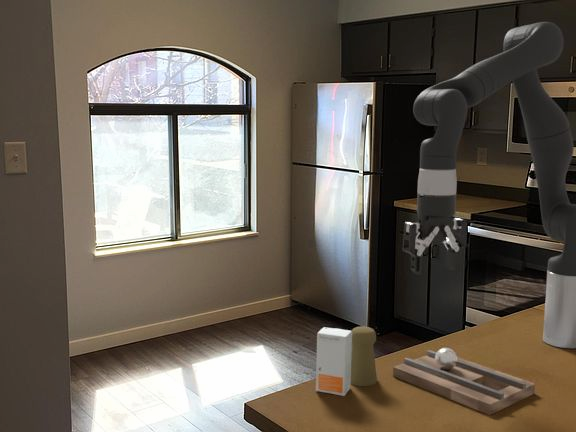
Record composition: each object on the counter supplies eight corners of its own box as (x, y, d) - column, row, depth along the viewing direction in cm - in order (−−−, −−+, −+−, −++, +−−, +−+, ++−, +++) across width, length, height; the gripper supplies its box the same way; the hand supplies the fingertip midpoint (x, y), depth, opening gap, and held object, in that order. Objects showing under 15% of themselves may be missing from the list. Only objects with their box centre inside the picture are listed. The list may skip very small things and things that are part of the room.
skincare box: (315, 391, 127) (315, 332, 125) (322, 383, 131) (323, 326, 129) (345, 397, 125) (346, 336, 123) (351, 388, 129) (352, 330, 127)
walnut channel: (438, 359, 144) (439, 346, 144) (534, 393, 127) (535, 378, 126) (392, 376, 135) (393, 362, 135) (489, 415, 117) (490, 399, 117)
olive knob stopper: (376, 387, 129) (377, 333, 128) (345, 384, 130) (346, 331, 129) (378, 375, 135) (379, 324, 134) (349, 373, 136) (349, 322, 135)
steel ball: (443, 363, 137) (444, 343, 136) (461, 369, 133) (462, 349, 133) (430, 368, 134) (430, 347, 133) (447, 374, 131) (448, 353, 130)
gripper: (451, 188, 136) (448, 264, 138) (396, 191, 130) (393, 271, 132) (477, 191, 129) (473, 271, 132) (420, 195, 123) (417, 279, 125)
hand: (433, 271), depth 132 cm, fingers open, 8 cm apart
